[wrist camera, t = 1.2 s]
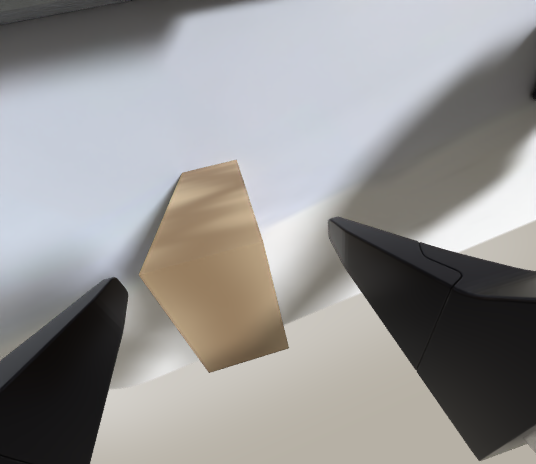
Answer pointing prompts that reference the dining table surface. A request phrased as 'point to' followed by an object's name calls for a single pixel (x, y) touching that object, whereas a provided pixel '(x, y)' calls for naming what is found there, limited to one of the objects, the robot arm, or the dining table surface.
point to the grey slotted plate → (44, 8)
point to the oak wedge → (215, 270)
